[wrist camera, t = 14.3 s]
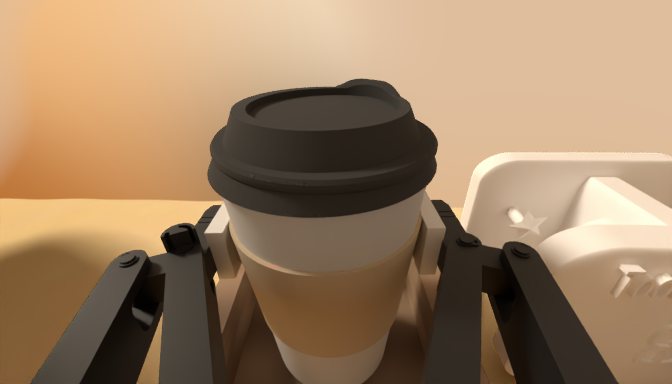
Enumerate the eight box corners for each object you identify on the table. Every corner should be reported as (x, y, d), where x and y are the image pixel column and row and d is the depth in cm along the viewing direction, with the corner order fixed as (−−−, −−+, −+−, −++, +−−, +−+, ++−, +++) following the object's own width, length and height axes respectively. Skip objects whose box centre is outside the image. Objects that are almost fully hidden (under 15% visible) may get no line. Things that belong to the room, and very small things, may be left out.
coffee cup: (333, 466, 12) (310, 165, 5) (233, 335, 18) (147, 95, 10) (429, 329, 18) (491, 87, 10) (331, 261, 23) (323, 69, 16)
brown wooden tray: (526, 512, 13) (571, 477, 10) (138, 520, 13) (86, 486, 10) (425, 257, 27) (433, 215, 24) (240, 261, 27) (229, 220, 24)
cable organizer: (615, 270, 25) (700, 151, 19) (763, 409, 16) (1011, 264, 10) (446, 266, 26) (476, 150, 20) (495, 395, 17) (577, 254, 11)
